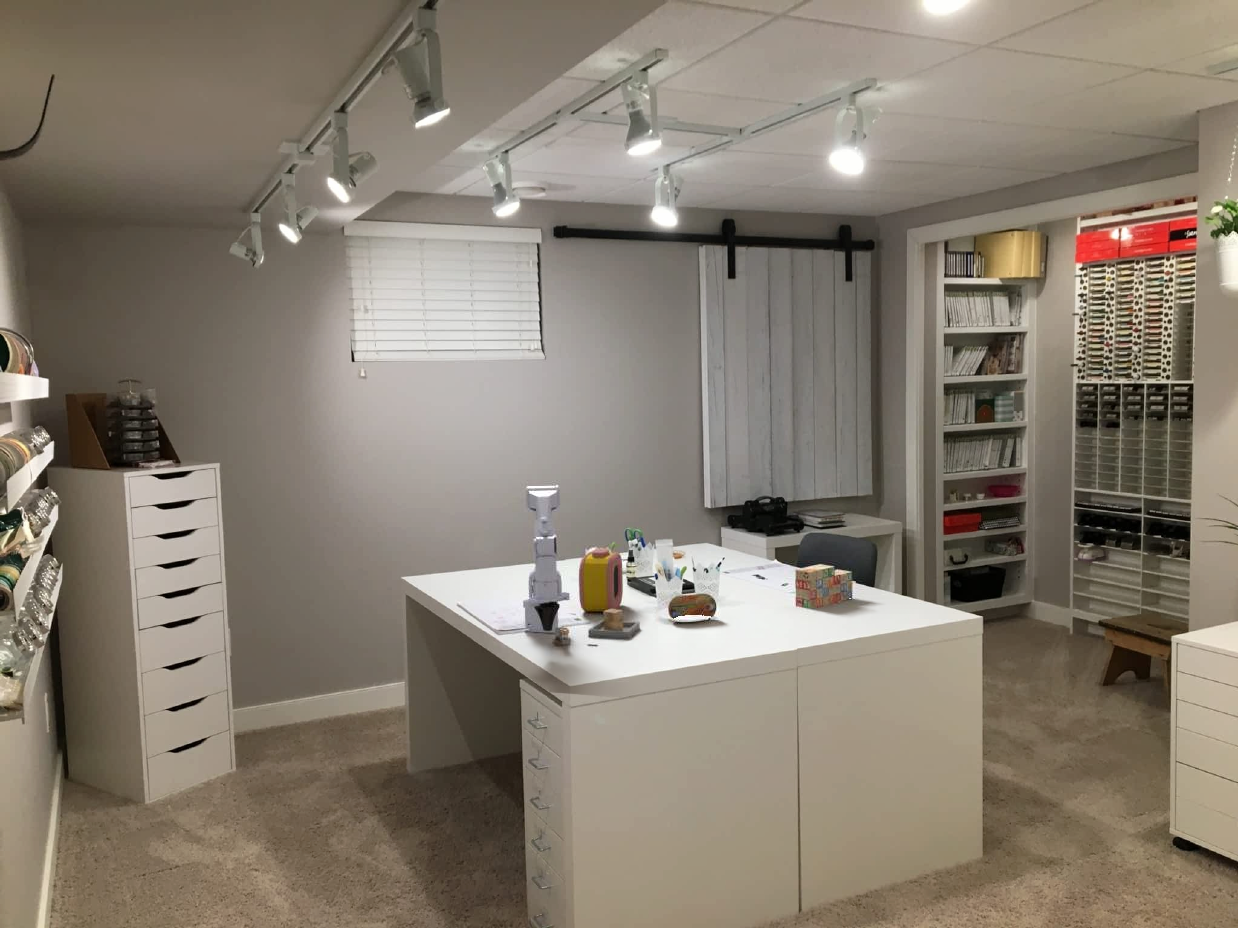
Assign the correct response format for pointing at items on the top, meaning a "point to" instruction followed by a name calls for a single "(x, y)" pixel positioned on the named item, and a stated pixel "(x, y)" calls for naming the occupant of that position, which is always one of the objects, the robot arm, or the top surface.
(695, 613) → the tin
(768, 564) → the top surface
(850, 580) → the stack of blocks
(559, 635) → the crank
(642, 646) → the top surface
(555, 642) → the crank base
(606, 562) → the alarm clock
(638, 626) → the tray
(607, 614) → the stop block
